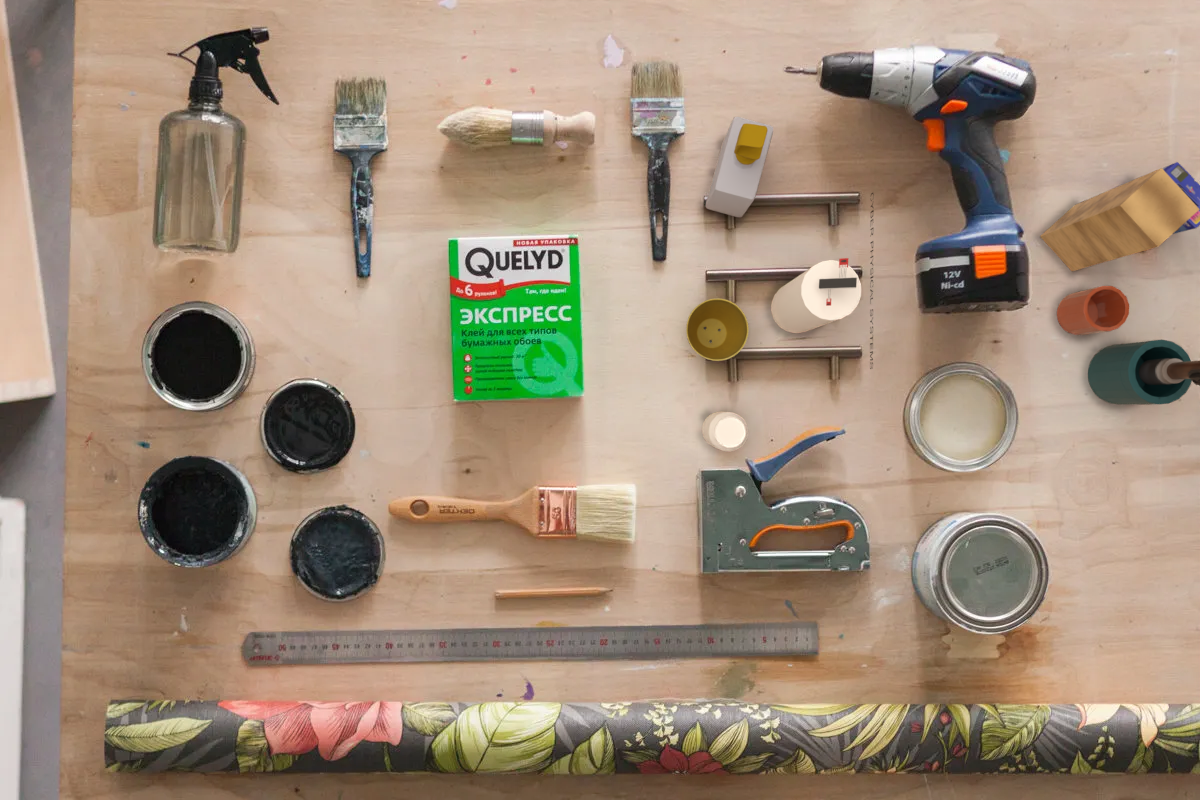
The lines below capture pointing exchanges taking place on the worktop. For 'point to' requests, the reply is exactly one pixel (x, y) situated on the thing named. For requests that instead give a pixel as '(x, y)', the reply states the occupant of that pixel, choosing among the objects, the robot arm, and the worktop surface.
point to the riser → (1120, 221)
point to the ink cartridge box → (1186, 192)
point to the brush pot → (1093, 310)
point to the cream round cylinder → (725, 431)
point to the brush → (1166, 371)
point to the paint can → (818, 296)
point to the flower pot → (714, 318)
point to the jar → (1134, 373)
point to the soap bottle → (739, 167)
